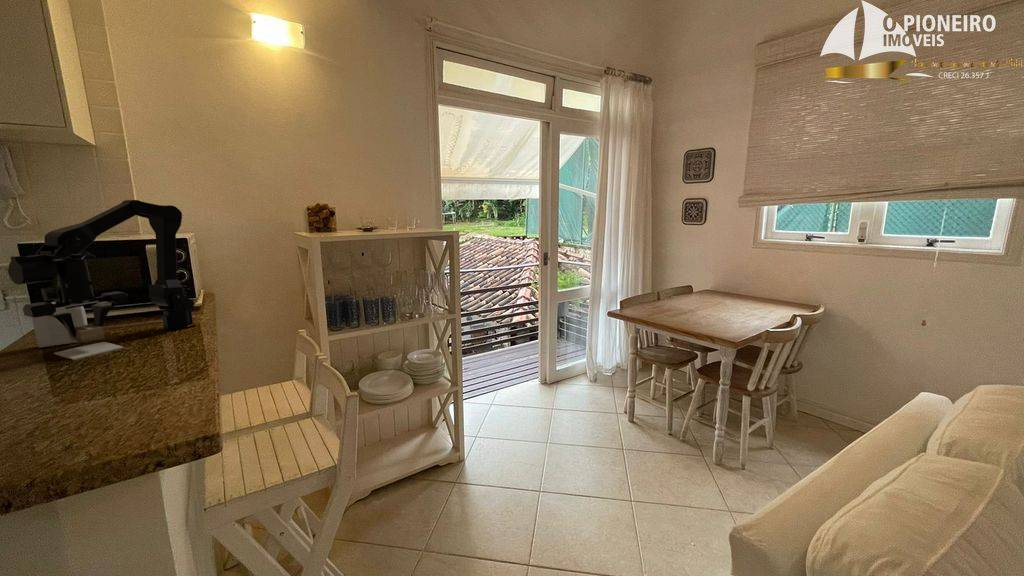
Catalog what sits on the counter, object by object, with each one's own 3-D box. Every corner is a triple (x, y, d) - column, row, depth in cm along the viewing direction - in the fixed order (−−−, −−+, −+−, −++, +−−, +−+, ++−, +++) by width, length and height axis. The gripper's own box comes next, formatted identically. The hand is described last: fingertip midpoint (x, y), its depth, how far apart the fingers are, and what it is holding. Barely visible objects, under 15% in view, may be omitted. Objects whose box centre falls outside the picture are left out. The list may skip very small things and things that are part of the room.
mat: (103, 342, 115) (103, 341, 115) (123, 348, 111) (123, 346, 111) (54, 354, 106) (54, 352, 106) (74, 360, 102) (73, 358, 102)
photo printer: (91, 337, 120) (82, 298, 117) (90, 341, 117) (81, 300, 114) (39, 345, 113) (29, 303, 110) (37, 349, 110) (26, 306, 107)
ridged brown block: (104, 337, 108) (102, 326, 108) (82, 342, 104) (79, 331, 104) (92, 334, 111) (90, 323, 111) (69, 339, 107) (67, 327, 107)
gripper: (105, 271, 116) (115, 322, 119) (6, 281, 99) (22, 340, 102) (125, 273, 112) (135, 326, 115) (26, 284, 95) (41, 346, 98)
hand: (86, 334), depth 108 cm, fingers closed on ridged brown block, 4 cm apart
